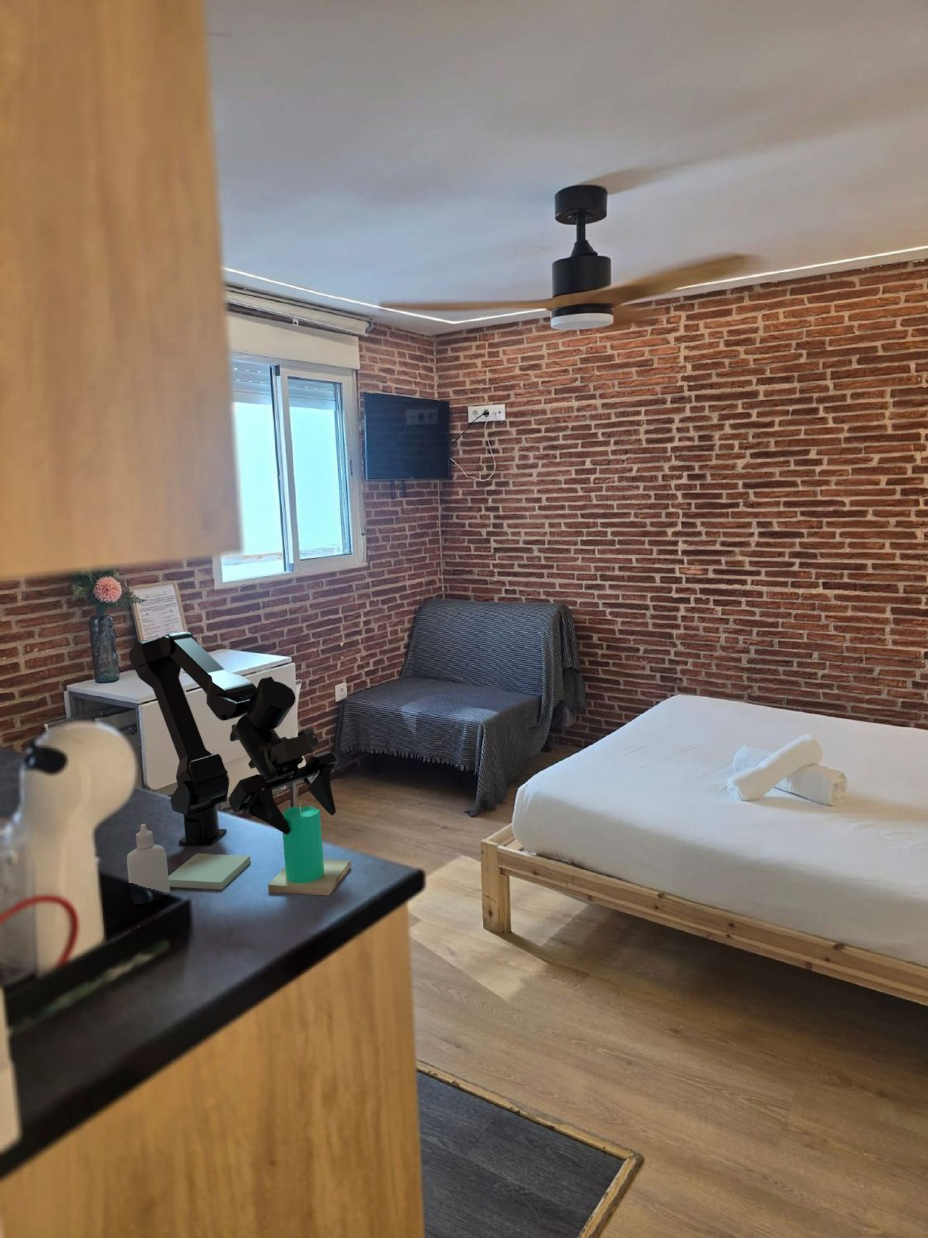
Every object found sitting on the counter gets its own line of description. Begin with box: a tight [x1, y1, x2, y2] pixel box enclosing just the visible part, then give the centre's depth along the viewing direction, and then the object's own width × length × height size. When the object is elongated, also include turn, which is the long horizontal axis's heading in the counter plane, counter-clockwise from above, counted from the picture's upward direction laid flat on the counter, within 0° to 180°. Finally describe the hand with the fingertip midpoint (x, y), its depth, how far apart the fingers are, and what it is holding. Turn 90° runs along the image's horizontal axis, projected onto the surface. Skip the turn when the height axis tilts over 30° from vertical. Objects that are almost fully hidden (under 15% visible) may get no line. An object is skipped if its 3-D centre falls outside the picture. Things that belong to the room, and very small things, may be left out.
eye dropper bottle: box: [126, 823, 171, 894], centre depth 127 cm, size 4×6×12 cm
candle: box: [281, 802, 324, 883], centre depth 130 cm, size 6×6×12 cm
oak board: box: [267, 858, 352, 896], centre depth 132 cm, size 10×10×1 cm
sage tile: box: [168, 853, 251, 891], centre depth 136 cm, size 10×10×1 cm
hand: (312, 823), depth 130 cm, fingers open, 9 cm apart
